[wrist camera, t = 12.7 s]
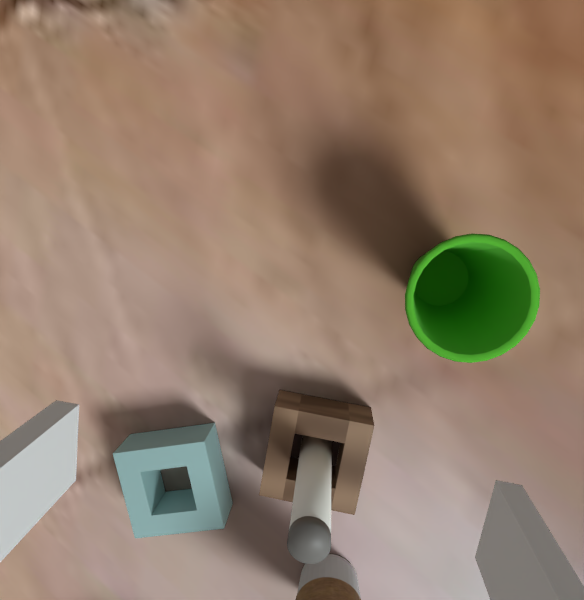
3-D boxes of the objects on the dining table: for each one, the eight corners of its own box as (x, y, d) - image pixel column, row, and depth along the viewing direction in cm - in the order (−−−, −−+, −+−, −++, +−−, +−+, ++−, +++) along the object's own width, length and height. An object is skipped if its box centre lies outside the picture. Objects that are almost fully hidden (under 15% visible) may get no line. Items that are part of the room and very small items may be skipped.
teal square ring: (130, 434, 50) (112, 453, 46) (214, 422, 49) (204, 441, 45) (150, 513, 51) (135, 538, 47) (232, 503, 50) (224, 528, 46)
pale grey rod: (304, 424, 48) (290, 521, 33) (334, 430, 48) (334, 529, 33) (299, 452, 48) (284, 559, 34) (328, 458, 48) (326, 567, 34)
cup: (371, 301, 45) (383, 330, 34) (417, 210, 43) (444, 211, 32) (459, 342, 45) (498, 384, 34) (509, 253, 43) (567, 268, 32)
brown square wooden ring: (279, 389, 47) (274, 406, 43) (370, 407, 47) (374, 425, 43) (265, 472, 49) (259, 495, 45) (352, 490, 49) (354, 514, 45)
